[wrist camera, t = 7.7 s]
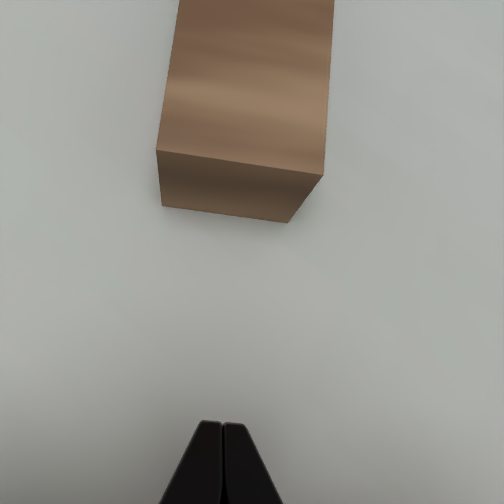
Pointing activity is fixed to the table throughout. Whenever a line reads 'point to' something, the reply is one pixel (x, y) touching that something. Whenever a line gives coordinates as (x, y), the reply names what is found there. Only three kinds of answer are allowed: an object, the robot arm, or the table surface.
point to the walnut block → (246, 106)
